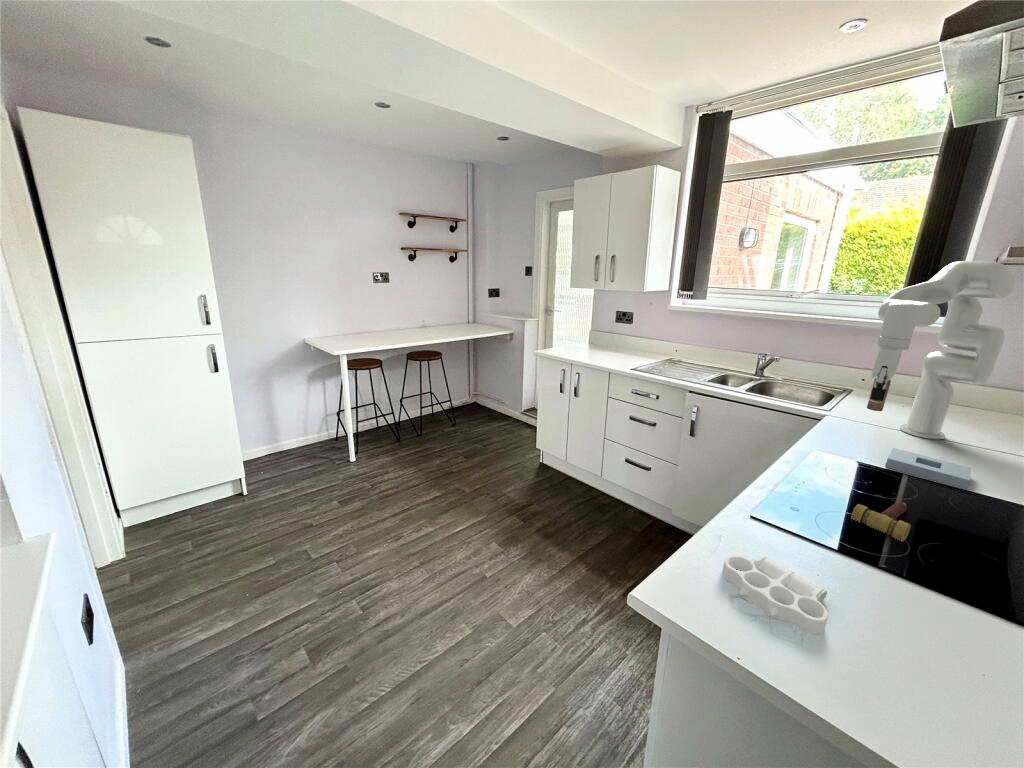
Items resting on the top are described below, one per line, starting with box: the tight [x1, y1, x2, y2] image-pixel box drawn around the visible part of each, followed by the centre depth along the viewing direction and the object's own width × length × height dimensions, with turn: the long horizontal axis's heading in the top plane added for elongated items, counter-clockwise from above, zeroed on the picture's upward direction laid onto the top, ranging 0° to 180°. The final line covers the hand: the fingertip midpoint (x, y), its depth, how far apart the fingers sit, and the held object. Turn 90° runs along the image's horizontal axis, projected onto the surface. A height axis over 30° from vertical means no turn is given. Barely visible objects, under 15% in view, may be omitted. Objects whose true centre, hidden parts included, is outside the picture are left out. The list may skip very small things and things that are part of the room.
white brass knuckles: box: [721, 554, 829, 635], centre depth 80 cm, size 3×18×15 cm
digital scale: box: [885, 447, 972, 491], centre depth 131 cm, size 12×18×3 cm, turn 43°
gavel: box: [850, 501, 912, 543], centre depth 106 cm, size 21×5×10 cm
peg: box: [866, 377, 892, 412], centre depth 136 cm, size 4×4×10 cm
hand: (877, 397), depth 137 cm, fingers closed on peg, 4 cm apart
